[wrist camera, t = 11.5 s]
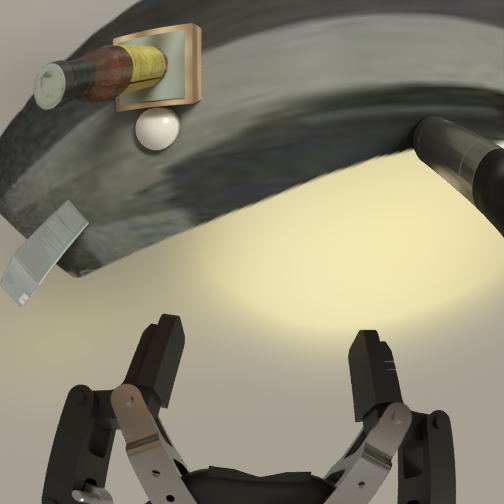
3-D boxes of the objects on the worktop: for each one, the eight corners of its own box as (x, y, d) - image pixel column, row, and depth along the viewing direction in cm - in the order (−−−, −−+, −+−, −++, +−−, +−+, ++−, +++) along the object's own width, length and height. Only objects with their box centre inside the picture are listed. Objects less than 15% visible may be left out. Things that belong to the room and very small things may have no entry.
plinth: (201, 28, 29) (191, 22, 24) (201, 99, 36) (191, 103, 32) (128, 40, 29) (111, 38, 25) (131, 106, 36) (115, 112, 32)
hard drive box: (62, 251, 56) (21, 308, 41) (44, 230, 53) (-2, 284, 37) (90, 223, 51) (39, 286, 35) (69, 197, 47) (11, 255, 31)
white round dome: (180, 104, 37) (175, 105, 35) (182, 145, 41) (177, 149, 39) (140, 108, 37) (133, 110, 35) (143, 147, 41) (138, 151, 39)
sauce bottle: (146, 39, 26) (45, 31, 10) (179, 60, 28) (92, 58, 12) (120, 76, 29) (17, 101, 13) (151, 97, 31) (57, 133, 15)
